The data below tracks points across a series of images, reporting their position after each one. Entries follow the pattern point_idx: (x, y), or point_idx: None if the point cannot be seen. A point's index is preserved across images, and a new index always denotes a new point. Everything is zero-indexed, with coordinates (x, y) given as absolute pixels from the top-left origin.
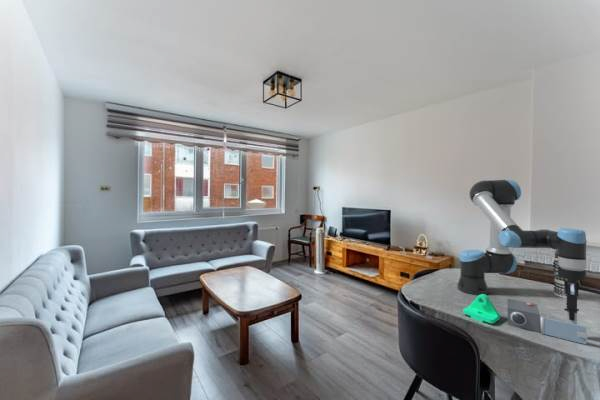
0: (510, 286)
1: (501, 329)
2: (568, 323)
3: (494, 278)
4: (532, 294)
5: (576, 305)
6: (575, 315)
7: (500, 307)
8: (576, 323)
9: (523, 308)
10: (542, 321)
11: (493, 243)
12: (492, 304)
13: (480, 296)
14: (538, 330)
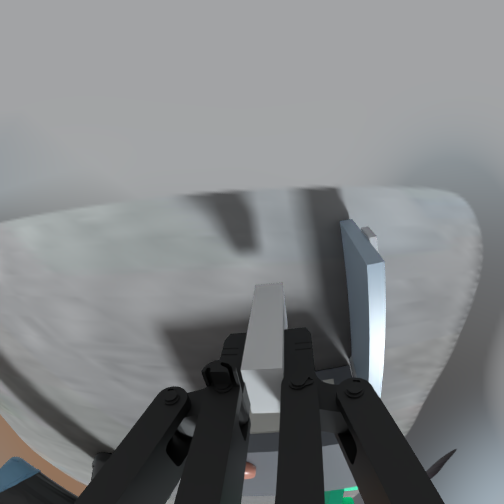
0: (15, 400)
1: (404, 422)
2: (381, 343)
3: (13, 416)
4: (5, 366)
5: (411, 451)
6: (284, 352)
7: None
8: (283, 305)
9: (324, 472)
10: None
11: None
12: (333, 497)
13: None
14: (350, 374)
